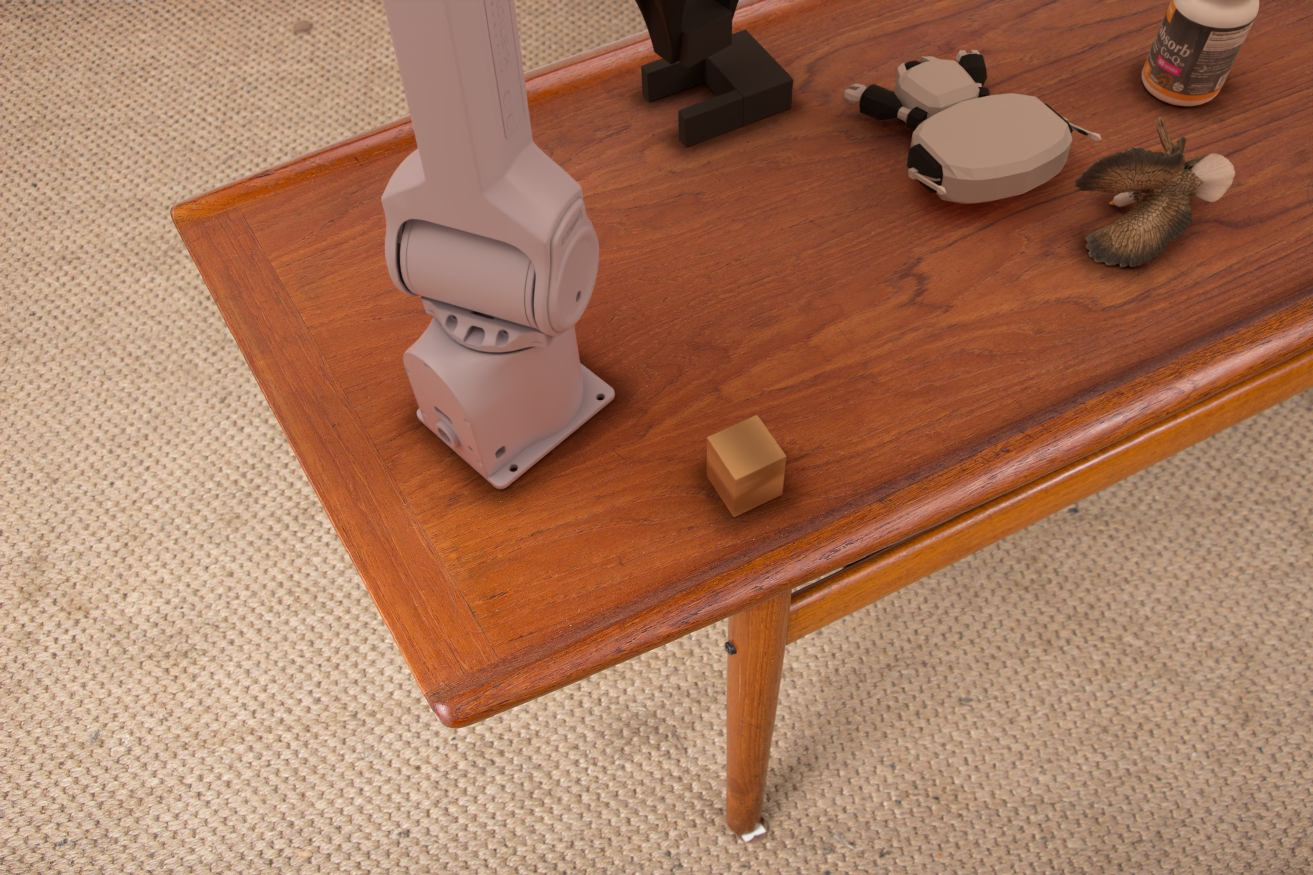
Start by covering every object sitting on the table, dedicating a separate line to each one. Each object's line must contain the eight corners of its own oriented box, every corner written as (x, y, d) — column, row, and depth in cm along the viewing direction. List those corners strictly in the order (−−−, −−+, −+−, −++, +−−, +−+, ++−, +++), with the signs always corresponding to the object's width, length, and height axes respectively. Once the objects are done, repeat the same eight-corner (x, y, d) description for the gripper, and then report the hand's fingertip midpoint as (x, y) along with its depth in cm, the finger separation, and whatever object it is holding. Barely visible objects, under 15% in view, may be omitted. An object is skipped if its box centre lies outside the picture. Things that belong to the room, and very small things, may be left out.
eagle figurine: (1110, 144, 75) (1041, 188, 71) (1202, 92, 69) (1132, 136, 64) (1165, 238, 76) (1100, 288, 71) (1261, 194, 69) (1196, 246, 65)
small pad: (688, 68, 74) (687, 35, 72) (652, 42, 76) (650, 9, 74) (732, 45, 76) (733, 12, 74) (695, 19, 78) (695, -14, 75)
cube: (733, 518, 60) (735, 480, 57) (706, 476, 62) (706, 436, 59) (782, 495, 61) (787, 456, 58) (754, 454, 63) (757, 414, 60)
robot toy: (829, 124, 80) (939, 243, 72) (833, 70, 77) (949, 189, 68) (970, 78, 83) (1093, 188, 74) (980, 24, 79) (1111, 133, 70)
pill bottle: (1124, 71, 82) (1171, -52, 73) (1191, 55, 82) (1244, -69, 74) (1166, 117, 78) (1220, -7, 70) (1235, 100, 79) (1296, -24, 71)
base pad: (685, 148, 78) (684, 119, 76) (642, 94, 82) (640, 65, 80) (791, 108, 80) (793, 79, 78) (744, 58, 84) (745, 28, 82)
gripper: (634, -82, 61) (645, 115, 72) (822, -170, 65) (805, 27, 77) (561, -130, 64) (583, 65, 75) (746, -210, 69) (740, -16, 80)
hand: (691, 43), depth 76 cm, fingers closed on small pad, 4 cm apart
